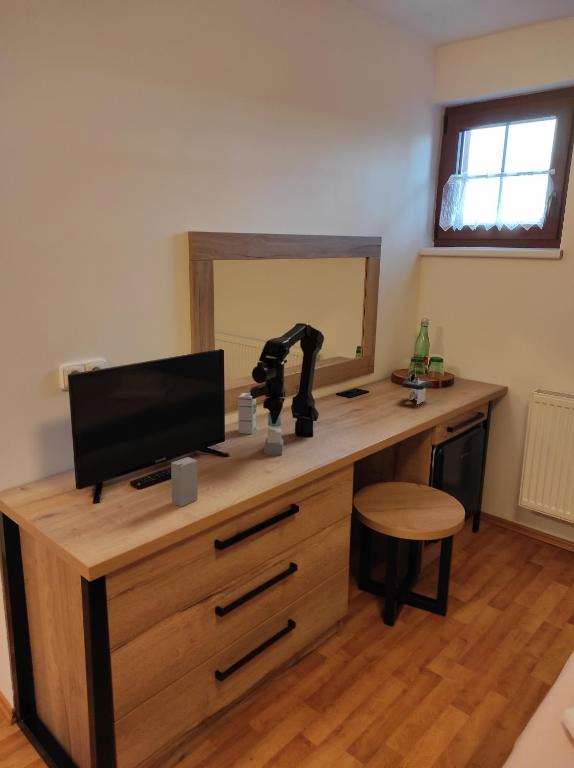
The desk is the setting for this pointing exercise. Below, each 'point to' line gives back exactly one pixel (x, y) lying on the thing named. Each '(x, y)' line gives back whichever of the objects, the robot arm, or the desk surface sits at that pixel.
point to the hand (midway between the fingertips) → (274, 421)
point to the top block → (274, 435)
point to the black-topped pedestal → (416, 387)
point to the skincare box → (184, 481)
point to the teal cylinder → (276, 422)
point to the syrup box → (246, 413)
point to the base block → (274, 447)
